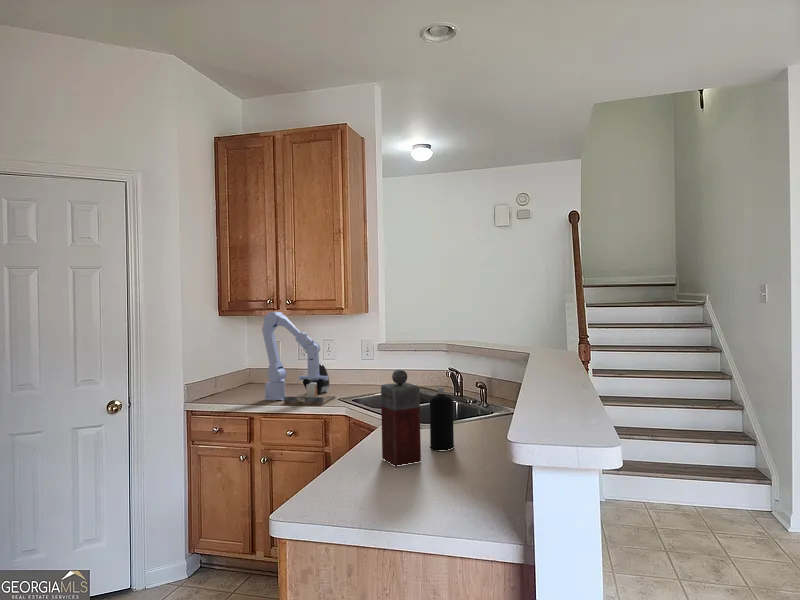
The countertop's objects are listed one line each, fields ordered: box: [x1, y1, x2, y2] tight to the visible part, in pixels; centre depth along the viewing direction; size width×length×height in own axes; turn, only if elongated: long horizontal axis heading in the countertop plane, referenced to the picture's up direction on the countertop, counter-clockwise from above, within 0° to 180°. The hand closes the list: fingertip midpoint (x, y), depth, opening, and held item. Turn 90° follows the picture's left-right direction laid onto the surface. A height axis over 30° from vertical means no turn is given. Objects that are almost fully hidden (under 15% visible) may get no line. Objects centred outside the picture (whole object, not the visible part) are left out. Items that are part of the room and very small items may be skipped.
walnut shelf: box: [283, 394, 336, 406], centre depth 261 cm, size 20×17×3 cm
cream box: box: [305, 383, 321, 397], centre depth 263 cm, size 5×7×7 cm
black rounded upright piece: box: [311, 363, 331, 394], centre depth 285 cm, size 10×10×15 cm
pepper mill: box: [380, 369, 422, 466], centre depth 163 cm, size 9×11×28 cm
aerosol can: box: [428, 386, 455, 451], centre depth 175 cm, size 8×8×20 cm
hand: (313, 394), depth 263 cm, fingers closed on cream box, 5 cm apart
